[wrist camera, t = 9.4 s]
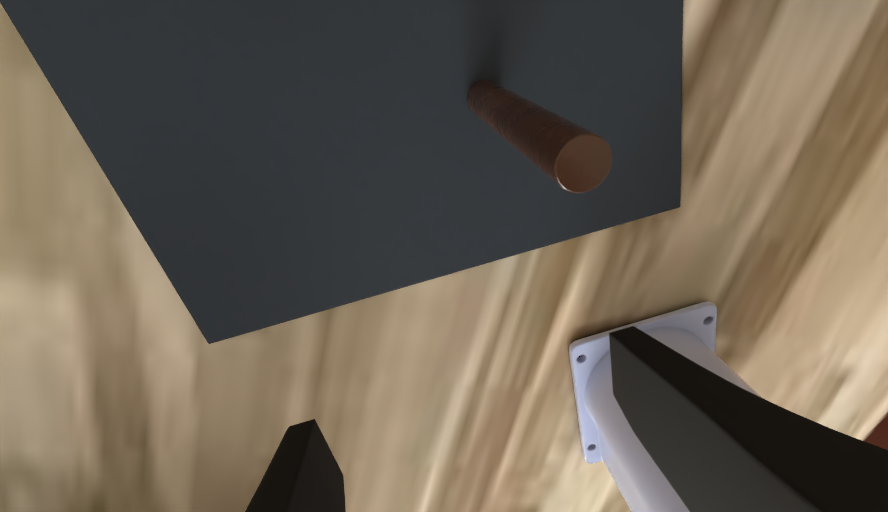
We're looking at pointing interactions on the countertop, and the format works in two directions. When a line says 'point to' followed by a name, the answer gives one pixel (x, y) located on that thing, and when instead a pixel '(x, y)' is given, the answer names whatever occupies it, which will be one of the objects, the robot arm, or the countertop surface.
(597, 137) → the stirring stick
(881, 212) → the countertop surface
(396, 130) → the mat
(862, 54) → the countertop surface
